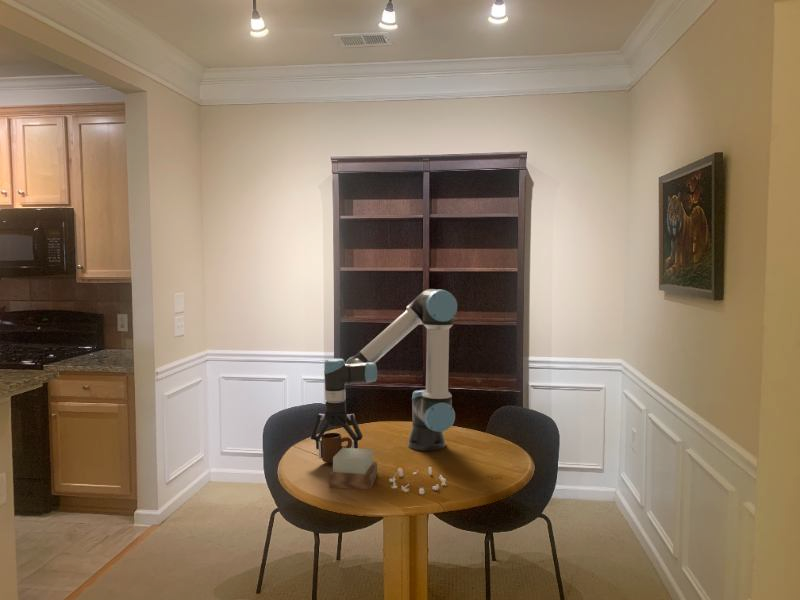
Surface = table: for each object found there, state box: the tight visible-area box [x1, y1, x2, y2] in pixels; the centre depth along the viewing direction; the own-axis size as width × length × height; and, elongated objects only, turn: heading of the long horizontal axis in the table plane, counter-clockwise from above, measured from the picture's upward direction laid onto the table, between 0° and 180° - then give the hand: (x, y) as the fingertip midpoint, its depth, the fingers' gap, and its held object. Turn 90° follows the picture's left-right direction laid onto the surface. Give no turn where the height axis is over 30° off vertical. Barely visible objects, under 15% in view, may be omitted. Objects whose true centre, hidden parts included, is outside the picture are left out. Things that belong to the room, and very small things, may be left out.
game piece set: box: [388, 466, 447, 495], centre depth 197 cm, size 19×20×4 cm
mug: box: [320, 432, 353, 464], centre depth 216 cm, size 12×8×9 cm, turn 73°
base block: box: [328, 461, 378, 490], centre depth 200 cm, size 14×14×5 cm
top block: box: [332, 447, 374, 474], centre depth 199 cm, size 11×11×5 cm
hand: (337, 457), depth 217 cm, fingers closed on mug, 12 cm apart
